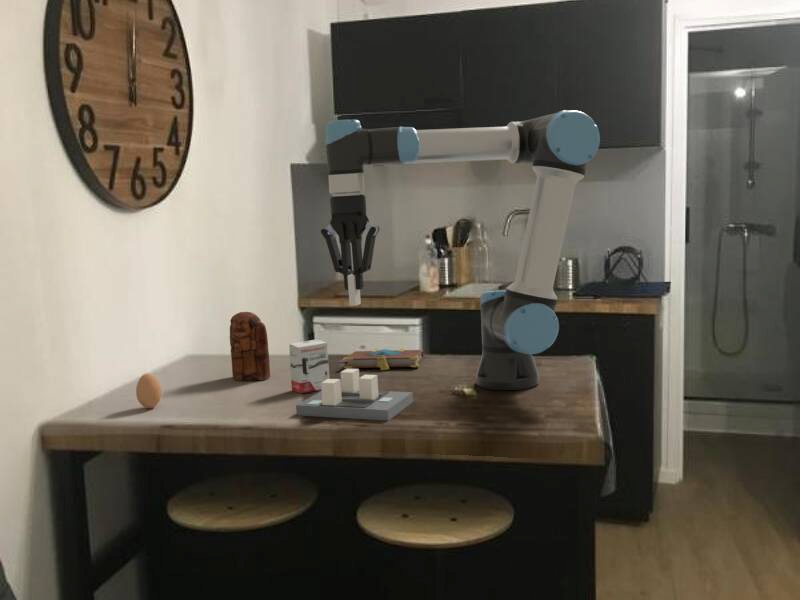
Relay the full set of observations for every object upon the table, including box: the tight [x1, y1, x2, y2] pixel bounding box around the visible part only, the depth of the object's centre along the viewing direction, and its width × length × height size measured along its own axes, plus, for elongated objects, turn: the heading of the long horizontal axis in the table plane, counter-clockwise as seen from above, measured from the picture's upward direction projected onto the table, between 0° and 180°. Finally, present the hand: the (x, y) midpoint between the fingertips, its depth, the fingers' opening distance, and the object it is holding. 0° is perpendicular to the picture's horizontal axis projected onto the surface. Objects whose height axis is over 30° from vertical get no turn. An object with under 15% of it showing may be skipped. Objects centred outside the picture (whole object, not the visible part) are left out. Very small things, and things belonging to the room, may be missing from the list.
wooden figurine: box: [229, 311, 271, 382], centre depth 225 cm, size 12×6×18 cm, turn 73°
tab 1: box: [320, 378, 342, 405], centre depth 187 cm, size 3×4×5 cm
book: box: [339, 348, 424, 371], centre depth 235 cm, size 16×25×5 cm, turn 81°
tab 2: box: [340, 368, 360, 392], centre depth 196 cm, size 3×4×5 cm
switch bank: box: [295, 388, 414, 422], centre depth 191 cm, size 22×15×3 cm
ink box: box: [288, 339, 330, 394], centre depth 211 cm, size 8×5×12 cm, turn 123°
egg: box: [135, 373, 162, 409], centre depth 201 cm, size 6×6×8 cm
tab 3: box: [359, 374, 379, 399], centre depth 189 cm, size 3×4×5 cm
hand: (355, 304), depth 183 cm, fingers closed
